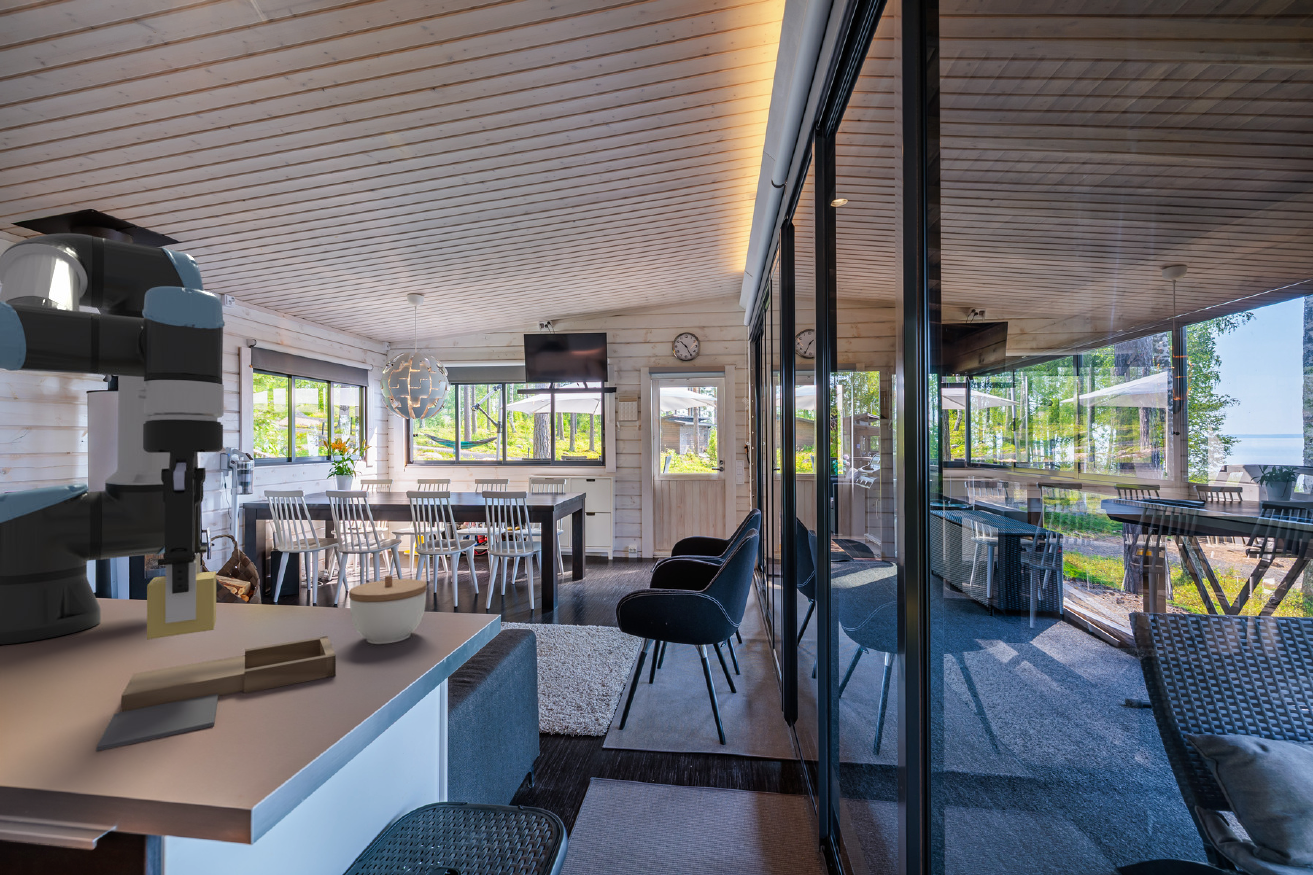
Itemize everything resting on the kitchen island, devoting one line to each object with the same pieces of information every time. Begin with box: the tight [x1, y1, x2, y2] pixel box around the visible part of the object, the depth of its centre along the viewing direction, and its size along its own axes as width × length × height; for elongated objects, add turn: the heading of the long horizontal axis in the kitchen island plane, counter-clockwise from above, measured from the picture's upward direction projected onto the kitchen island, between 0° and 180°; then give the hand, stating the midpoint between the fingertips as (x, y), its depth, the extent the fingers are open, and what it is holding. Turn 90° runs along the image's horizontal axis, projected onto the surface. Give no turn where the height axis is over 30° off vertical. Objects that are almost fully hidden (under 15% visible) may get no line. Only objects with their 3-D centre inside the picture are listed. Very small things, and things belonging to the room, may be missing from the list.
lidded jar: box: [348, 574, 427, 645], centre depth 91 cm, size 11×11×9 cm
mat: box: [95, 694, 219, 752], centre depth 63 cm, size 9×9×1 cm
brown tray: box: [120, 635, 337, 712], centre depth 74 cm, size 10×20×2 cm, turn 124°
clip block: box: [146, 570, 217, 640], centre depth 71 cm, size 6×6×6 cm
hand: (183, 613), depth 71 cm, fingers closed on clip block, 6 cm apart
